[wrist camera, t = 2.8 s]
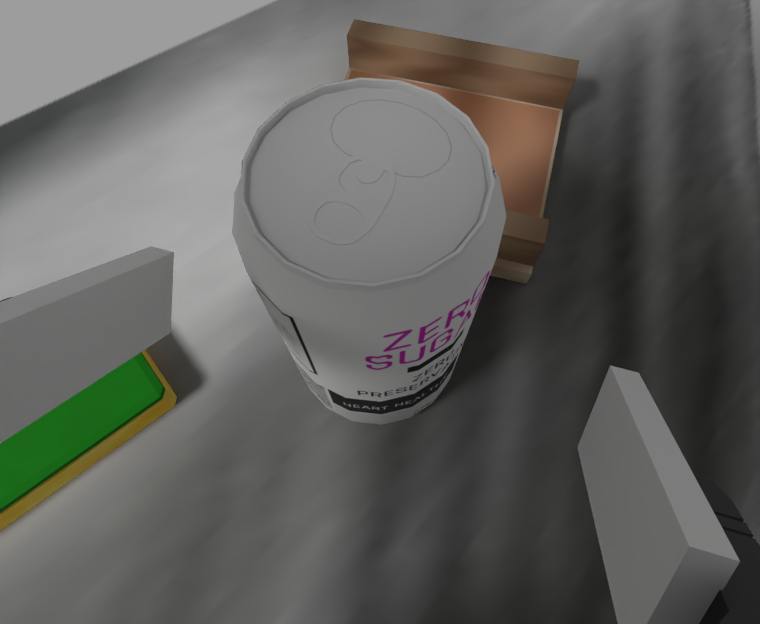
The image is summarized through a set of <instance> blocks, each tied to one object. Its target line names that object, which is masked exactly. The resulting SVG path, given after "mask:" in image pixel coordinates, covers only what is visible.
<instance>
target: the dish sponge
mask: <svg viewBox="0 0 760 624" xmlns="http://www.w3.org/2000/svg"><path fill="white" fill-rule="evenodd" d="M176 400H177V396H176V394H175V393H174V391H173V390H172V388H171V387H170V385H169V384H168V382H167V381H166V379H165V378H164V376H163V375H162V373H161V372H160V370H159V369H158V367H157V366H156V364H155V363H154V361H153V359H152V358H151V356H150V355H149V353H148V352H147V350H146V349H145V350H143V351H142V352H140V353H139V354H137V355H136V356H134V357H133V358H131V359H130V360H128V361H126V362H125V363H123V364H122V365H120V366H119V367H117V368H116V369H114V370H113V371H111V372H110V373H108V374H106V375H105V376H103V377H102V378H100V379H99V380H97V381H96V382H94V383H93V384H91V385H90V386H88V387H86V388H85V389H83V390H82V391H80V392H79V393H77V394H76V395H74V396H73V397H71V398H70V399H68V400H66V401H65V402H63V403H62V404H60V405H59V406H57V407H56V408H54V409H53V410H51V411H50V412H48V413H46V414H45V415H43V416H42V417H40V418H39V419H37V420H36V421H34V422H33V423H31V424H30V425H28V426H26V427H25V428H23V429H22V430H20V431H19V432H17V433H16V434H14V435H13V436H11V437H10V438H8V439H6V440H5V441H3V442H2V443H0V531H1V530H2V529H3V528H5V527H6V526H8V525H9V524H10V523H12V522H13V521H15V520H16V519H17V518H19V517H20V516H22V515H23V514H24V513H26V512H27V511H29V510H30V509H31V508H33V507H34V506H36V505H37V504H38V503H40V502H41V501H43V500H44V499H45V498H47V497H48V496H50V495H51V494H52V493H54V492H55V491H57V490H58V489H59V488H61V487H62V486H64V485H65V484H66V483H68V482H69V481H71V480H72V479H73V478H75V477H76V476H78V475H79V474H80V473H82V472H83V471H85V470H86V469H87V468H89V467H90V466H92V465H93V464H94V463H96V462H97V461H99V460H100V459H101V458H103V457H104V456H106V455H107V454H108V453H110V452H111V451H113V450H114V449H115V448H117V447H118V446H120V445H121V444H122V443H124V442H125V441H127V440H128V439H129V438H131V437H132V436H134V435H135V434H136V433H138V432H139V431H141V430H142V429H143V428H145V427H146V426H148V425H149V424H150V423H152V422H153V421H155V420H156V419H157V418H159V417H160V416H162V415H163V414H164V413H166V412H167V411H169V410H170V409H171V408H173V407H174V406H175V403H176Z"/></svg>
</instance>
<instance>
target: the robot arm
mask: <svg viewBox="0 0 760 624" xmlns="http://www.w3.org/2000/svg"><path fill="white" fill-rule="evenodd" d="M173 259H174V252H171V251H167V250H163V249H159V248H155V247H148V248H146V249H143V250H140V251H137V252H135V253H132V254H129V255H127V256H124V257H121V258H118V259H116V260H113V261H110V262H108V263H105V264H102V265H99V266H97V267H94V268H91V269H88V270H86V271H83V272H80V273H78V274H75V275H72V276H69V277H67V278H64V279H61V280H59V281H56V282H53V283H50V284H48V285H45V286H42V287H39V288H37V289H34V290H31V291H29V292H26V293H23V294H20V295H18V296H15V297H10V298H7V299H4V300H2V301H0V443H2V442H3V441H5V440H6V439H8V438H10V437H11V436H13V435H14V434H16V433H17V432H19V431H20V430H22V429H23V428H25V427H26V426H28V425H30V424H31V423H33V422H34V421H36V420H37V419H39V418H40V417H42V416H43V415H45V414H46V413H48V412H50V411H51V410H53V409H54V408H56V407H57V406H59V405H60V404H62V403H63V402H65V401H66V400H68V399H70V398H71V397H73V396H74V395H76V394H77V393H79V392H80V391H82V390H83V389H85V388H86V387H88V386H90V385H91V384H93V383H94V382H96V381H97V380H99V379H100V378H102V377H103V376H105V375H106V374H108V373H110V372H111V371H113V370H114V369H116V368H117V367H119V366H120V365H122V364H123V363H125V362H126V361H128V360H130V359H131V358H133V357H134V356H136V355H137V354H139V353H140V352H142V351H143V350H145V349H146V348H148V347H150V346H151V345H153V344H154V343H156V342H157V341H159V340H160V339H162V338H163V337H165V336H166V335H168V334H170V333H171V309H172V284H173ZM577 448H578V453H579V457H580V461H581V466H582V470H583V474H584V479H585V483H586V487H587V492H588V496H589V501H590V505H591V509H592V514H593V518H594V522H595V527H596V531H597V535H598V540H599V544H600V549H601V553H602V557H603V562H604V566H605V570H606V575H607V579H608V583H609V588H610V592H611V597H612V601H613V605H614V610H615V614H616V618H617V623H618V624H760V546H759V544H758V543H757V541H756V540H755V539H753V538H752V536H753V535H752V533H751V531H750V530H749V528H748V526H747V525H746V523H743V518H742V516H741V515H740V513H739V511H738V510H737V508H736V506H735V505H734V503H733V501H732V500H731V499H730V498H729V497H728V496H727V495H725V494H724V493H723V492H722V491H721V490H720V489H719V488H718V487H717V486H716V485H715V484H714V483H713V482H710V481H706V480H702V479H699V478H695V476H694V474H693V473H692V471H691V469H690V467H689V465H688V463H687V461H686V460H685V458H684V456H683V454H682V452H681V450H680V448H679V447H678V445H677V443H676V441H675V439H674V437H673V435H672V434H671V432H670V430H669V428H668V426H667V424H666V422H665V421H664V419H663V417H662V415H661V413H660V411H659V409H658V407H657V406H656V404H655V402H654V400H653V398H652V396H651V394H650V393H649V391H648V389H647V387H646V385H645V383H644V381H643V380H642V378H641V376H640V374H639V373H638V372H634V371H630V370H626V369H622V368H618V367H614V366H611V365H610V367H609V370H608V372H607V375H606V377H605V380H604V382H603V385H602V387H601V390H600V392H599V395H598V397H597V399H596V402H595V404H594V407H593V409H592V412H591V414H590V417H589V419H588V422H587V424H586V427H585V429H584V432H583V434H582V437H581V439H580V442H579V444H578V447H577Z"/></svg>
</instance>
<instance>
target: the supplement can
mask: <svg viewBox="0 0 760 624" xmlns="http://www.w3.org/2000/svg"><path fill="white" fill-rule="evenodd" d="M505 220H506V211H505V206H504V200H503V195H502V189H501V183H500V178H499V176H498V174H497V172H496V170H495V169H494V167H493V165H492V163H491V159H490V154H489V148H488V146H487V144H486V143H485V141H484V140H483V138H482V137H481V135H480V134H479V132H478V130H477V129H476V127H475V126H474V124H473V123H472V121H471V120H470V118H469V117H468V116H467V115H466V114H464V113H463V112H462V111H460V110H459V109H458V108H456V107H455V106H454V105H452V104H451V103H450V102H448V101H447V100H446V99H444V98H443V97H442V96H440V95H439V94H438V93H435V92H432V91H429V90H426V89H424V88H421V87H418V86H415V85H412V84H410V83H407V82H404V81H401V80H389V79H375V78H362V77H361V78H355V79H350V80H345V81H339V82H334V83H329V84H324V85H320V86H318V87H316V88H314V89H312V90H310V91H308V92H306V93H304V94H302V95H300V96H298V97H296V98H294V99H292V100H290V101H288V102H286V103H285V104H284V105H282V106H281V107H280V108H279V109H278V110H277V111H276V112H275V113H274V114H273V115H272V116H271V117H270V118H269V119H268V120H267V121H266V122H265V123H264V124H263V125H261V126H260V127H259V128H258V130H257V132H256V134H255V136H254V138H253V140H252V142H251V144H250V146H249V148H248V150H247V152H246V154H245V156H244V158H243V160H242V170H241V179H240V181H239V183H238V186H237V188H236V191H235V196H234V212H233V229H232V233H233V236H234V239H235V241H236V244H237V247H238V249H239V252H240V255H241V257H242V260H243V263H244V265H245V268H246V271H247V273H248V275H249V277H250V279H251V280H252V282H253V284H254V286H255V288H256V290H257V292H258V294H259V295H260V297H261V299H262V301H263V303H264V305H265V307H266V308H267V310H268V312H269V314H270V316H271V318H272V320H273V322H274V323H275V325H276V327H277V329H278V331H279V333H280V335H281V337H282V338H283V340H284V342H285V344H286V346H287V348H288V350H289V352H290V353H291V355H292V357H293V359H294V361H295V363H296V365H297V367H298V368H299V370H300V372H301V374H302V376H303V378H304V380H305V382H306V383H307V385H308V387H309V389H310V390H311V391H312V392H313V393H314V394H315V395H316V396H317V398H318V399H319V400H320V401H321V402H322V403H323V404H324V405H325V406H326V407H327V408H328V409H329V410H331V411H333V412H335V413H337V414H339V415H341V416H343V417H345V418H347V419H349V420H351V421H353V422H362V423H371V424H380V425H383V424H387V423H391V422H395V421H400V420H404V419H408V418H411V417H412V416H414V415H415V414H417V413H418V412H420V411H421V410H423V409H424V408H426V407H427V406H429V405H430V404H432V403H433V402H434V401H435V400H436V398H437V397H438V395H439V394H440V393H441V391H442V390H443V388H444V387H445V386H446V384H447V383H448V381H449V380H450V378H451V375H452V372H453V370H454V367H455V365H456V362H457V359H458V357H459V354H460V351H461V349H462V346H463V344H464V341H465V338H466V336H467V333H468V331H469V328H470V325H471V323H472V320H473V318H474V315H475V312H476V310H477V307H478V305H479V302H480V299H481V297H482V294H483V291H484V289H485V286H486V284H487V281H488V278H489V276H490V273H491V271H492V268H493V265H494V263H495V260H496V258H497V254H498V249H499V245H500V241H501V237H502V233H503V229H504V225H505Z"/></svg>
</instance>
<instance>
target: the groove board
mask: <svg viewBox="0 0 760 624" xmlns="http://www.w3.org/2000/svg"><path fill="white" fill-rule="evenodd" d="M347 42H348V54H349V66H350V68H349V71H348V73H347V75H346V78H345V80H350V79H355V78H361V77H362V78H375V79H389V80H401V81H404V82H407V83H410V84H412V85H415V86H418V87H421V88H424V89H426V90H429V91H432V92H435V93H438V94H439V95H440V96H442V97H443V98H444V99H446V100H447V101H448V102H450V103H451V104H452V105H454V106H455V107H456V108H458V109H459V110H460V111H462V112H463V113H464V114H466V115H467V116H468V117H469V118H470V120H471V121H472V123H473V124H474V126H475V127H476V129H477V130H478V132H479V134H480V135H481V137H482V138H483V140H484V141H485V143H486V144H487V146H488V148H489V154H490V159H491V163H492V165H493V167H494V169H495V170H496V172H497V174H498V176H499V178H500V183H501V189H502V195H503V200H504V206H505V211H506V220H505V225H504V229H503V233H502V237H501V241H500V245H499V249H498V254H497V258H496V260H495V263H494V265H493V268H492V271H491V273H490V276H494V277H499V278H503V279H507V280H511V281H515V282H520V283H524V284H527V282H528V280H529V279H530V277H531V275H532V270H533V266H534V264H535V262H536V260H537V258H538V257H539V255H540V253H541V251H542V249H543V247H544V245H545V242H546V237H547V231H548V226H549V221H550V219H546V218H543V213H544V208H545V202H546V197H547V192H548V187H549V181H550V176H551V171H552V166H553V160H554V155H555V150H556V145H557V139H558V134H559V129H560V124H561V118H562V113H563V109H564V106H565V104H566V101H567V99H568V97H569V94H570V92H571V89H572V87H573V84H574V82H575V79H576V74H577V69H578V63H579V61H577V60H572V59H566V58H561V57H556V56H550V55H545V54H539V53H534V52H528V51H523V50H518V49H512V48H507V47H501V46H496V45H490V44H485V43H480V42H474V41H469V40H463V39H458V38H452V37H447V36H442V35H436V34H431V33H425V32H420V31H414V30H409V29H404V28H398V27H393V26H387V25H382V24H376V23H371V22H366V21H360V20H355V19H354V21H353V23H352V25H351V28H350V30H349V32H348V35H347ZM345 80H344V81H345Z"/></svg>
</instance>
